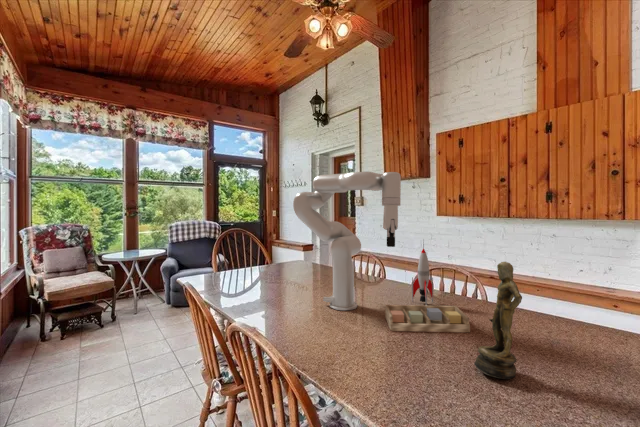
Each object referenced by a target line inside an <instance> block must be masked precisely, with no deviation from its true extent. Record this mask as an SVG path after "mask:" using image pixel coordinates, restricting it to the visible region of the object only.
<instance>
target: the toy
mask: <svg viewBox="0 0 640 427" xmlns="http://www.w3.org/2000/svg"><path fill="white" fill-rule="evenodd" d="M422 242H423V243H422V244H423V247H422V251H420V255H419V258H418V264H417V265H418V266H417V278H415V279H414V277H412V279H411V280H412V282H411V302H412V303H413V302H414V297H415V295H416V293H417V291H418V289H419V294H420V297H419V301H420V302H421V303H425V306H428V292H429V294H430V297H431V303H434V278H433V277H431V279H430V263H429V258H428V256H427V252H426V250H425V249H424V247H425V244H424V242H425V239H424V238H423V240H422Z"/></svg>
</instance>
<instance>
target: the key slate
mask: <svg viewBox="0 0 640 427" xmlns="http://www.w3.org/2000/svg"><path fill="white" fill-rule="evenodd" d="M427 316H428V318H429V319H430V320H442V312H441V311H440V310H439V309H438V308H427Z"/></svg>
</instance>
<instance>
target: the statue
mask: <svg viewBox="0 0 640 427" xmlns="http://www.w3.org/2000/svg"><path fill="white" fill-rule="evenodd" d="M496 267H497V275H498V279H499V280H500V282H499V283H498V285H497V295H496V303H495V304H496V306H495V309H494V311H493V316H492V318H488V320H489V321H490V322H491V323H492V326H491V327H492V334H493V337H494V340H495V344H494V345H492V346H491V345H490V346H489V345H481V346H479V347H478V349H477V352H478V353H479V354H478V355H477V356H476V359H475V361H474V366H475V368H477V369H478V370H479V371H481V372H482V373H483V374H485V375H487V376H489V377H493V378H497V379H502V380H510V379H513V378H515V377H516V374H517V367H516V365H515V364H516V363H517V357H516V356H515V354H513V353H511V349H512V345H513V335H512V333H511V332H512V331H511V330H512V326H513V315H514V314H515V310H516V308H518V307H519V305H520V304H521V303H522V299H523V296H522V294H521V293H520V291H519V287H518V285H517V283H516V282H515V281H514V266H513V265H512V264H511V263H510V262H507V261H501V262H500V263H498V264H497V266H496Z"/></svg>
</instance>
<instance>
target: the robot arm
mask: <svg viewBox="0 0 640 427" xmlns="http://www.w3.org/2000/svg"><path fill="white" fill-rule="evenodd" d="M401 180H402V179H401V173H399V172H397V171H389V172H388V171H386V172H384V173H378V172H372V171H354V172H345V173H334V174H331V173H330V174H329V173H327V174H320V175H317V176H315V177H314V179H313V180H312V187H313V189H314V190H315V191H302V192H298V193H297V194H296V195H295V196H294V198H293V203H292V204H293V205H292V206H293V210H294V214H295V216H297V218H298V219H299V220H300V222H302V223H304V224H305V226H306V227H308V228H309V229H310V230H311V232H313V233H314V234H315V235H316V236H317V237H318V239H320V241H322V242H324V243H330V242H331V245H330V254H331V261H332V294H331V295H330V296H322V299H323V302H325V303H329V307H330V308H332V309H333V310H337V311H352V310H355V309H357V307H358V303H357V302H356V301H355V278H354V277H355V276H354V275H355V272H354V270H355V268H354V261H353V256H355V255H357V254H358V253H359V252H360V251H361V249H362V242H361V240H360V238H359V237H358V236H357V235H356V234H355V233H353V232H352V230H350V229H349V228H347V226H346V225H344V224H343V223H341V222H340V221H337V220H335V221H334V220H333V221H332V220H331V221H330V220H328V219H326V218H325V217H324V216H323V215H322V214H321V213H320V212H319V211H316V210H318V209H321V208H322V207H323V206H324V205H325V204H327V202H328V201H329V200H330V199H331V198H332V197H333V195H334V194H335V193H336V194H337V193H340V194H341V193H347V192H348V191H373V192H374V191H375V192H376V191H377V192H378V191H381V206H382V207H383V215H382V216H383V222H382V228H383V229H384V230H386V246H387V247H389V248H395V247H396V231H397V230H398V226H399V210H398V209H399V207H400V206H401V200H402V199H401V190H402V189H401V186H402V185H401V182H402V181H401Z"/></svg>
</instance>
